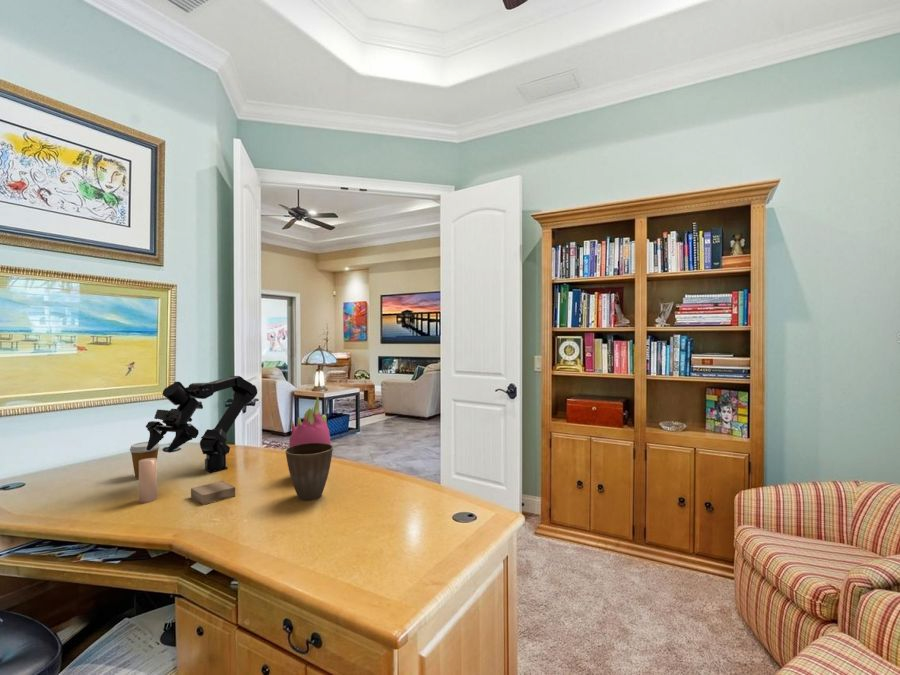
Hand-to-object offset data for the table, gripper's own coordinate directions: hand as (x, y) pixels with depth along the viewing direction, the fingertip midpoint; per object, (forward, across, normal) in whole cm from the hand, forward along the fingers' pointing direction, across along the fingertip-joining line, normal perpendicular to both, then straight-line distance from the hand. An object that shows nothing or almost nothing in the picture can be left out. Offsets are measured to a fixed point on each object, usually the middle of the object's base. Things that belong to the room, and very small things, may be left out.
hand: (157, 451), depth 154 cm
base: (+10, +23, +10) cm, 27 cm away
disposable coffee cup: (+2, -20, +18) cm, 26 cm away
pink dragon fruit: (-9, +41, +30) cm, 52 cm away
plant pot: (+4, +53, +16) cm, 56 cm away
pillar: (+15, +5, +4) cm, 16 cm away
